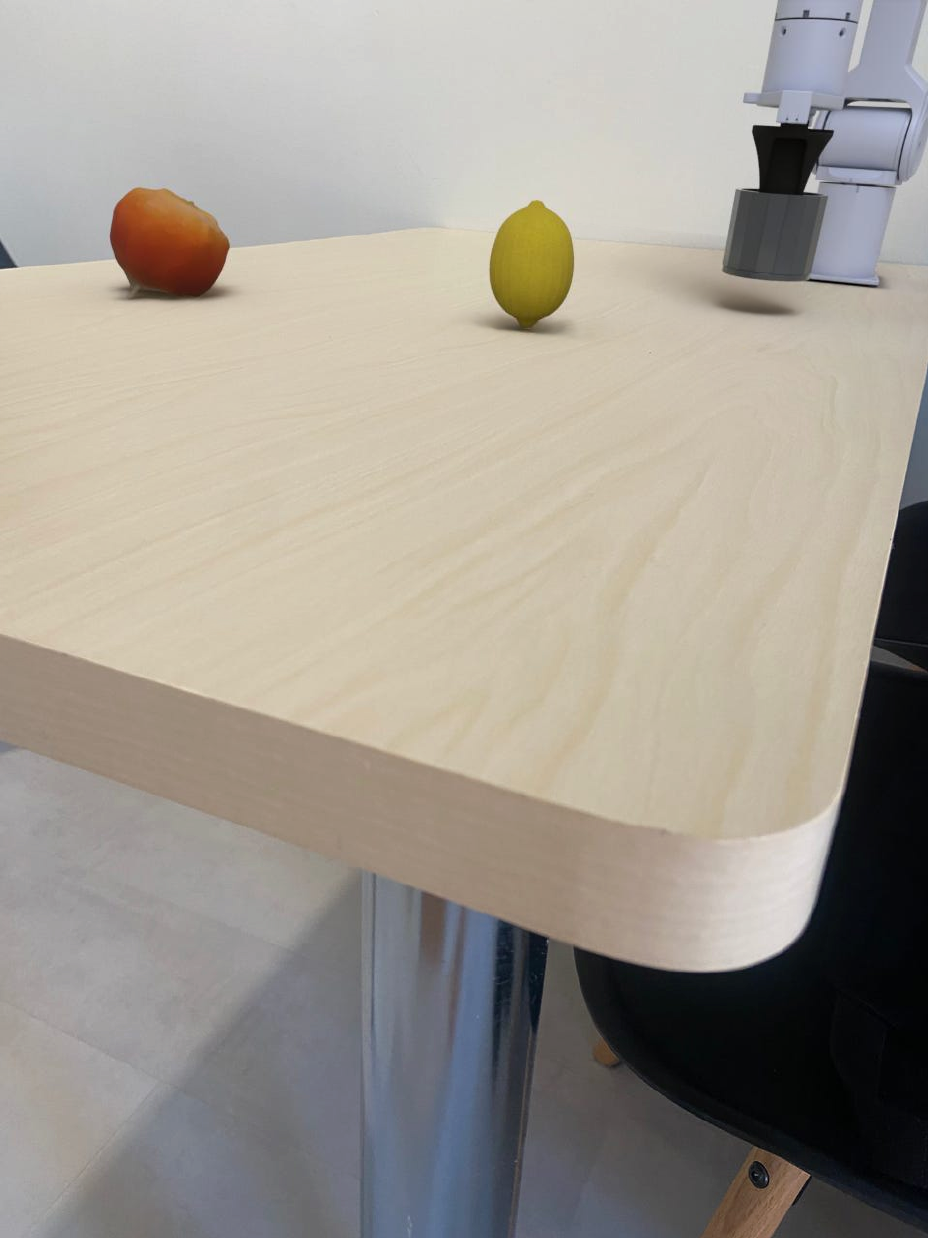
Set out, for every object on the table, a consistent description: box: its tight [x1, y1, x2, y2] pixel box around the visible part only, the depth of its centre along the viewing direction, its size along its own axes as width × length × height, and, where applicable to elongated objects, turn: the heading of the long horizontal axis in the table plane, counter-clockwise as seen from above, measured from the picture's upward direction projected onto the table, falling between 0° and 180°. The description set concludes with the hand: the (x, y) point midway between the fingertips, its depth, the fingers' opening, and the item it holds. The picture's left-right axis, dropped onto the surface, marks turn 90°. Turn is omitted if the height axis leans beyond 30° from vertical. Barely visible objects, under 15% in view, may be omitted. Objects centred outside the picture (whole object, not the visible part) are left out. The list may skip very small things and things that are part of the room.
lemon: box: [489, 199, 575, 330], centre depth 60 cm, size 6×6×8 cm
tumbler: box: [721, 187, 828, 283], centre depth 71 cm, size 7×7×6 cm
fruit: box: [109, 186, 231, 300], centre depth 65 cm, size 8×8×8 cm
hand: (773, 230), depth 71 cm, fingers closed on tumbler, 2 cm apart
